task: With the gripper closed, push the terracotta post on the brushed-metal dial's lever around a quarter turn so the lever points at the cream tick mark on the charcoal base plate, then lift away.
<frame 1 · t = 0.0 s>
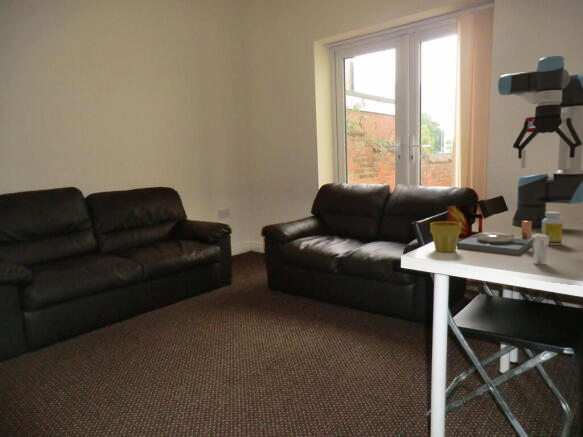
hand: (544, 168, 146), 28 cm above the table, fingers open, 13 cm apart
mug: (464, 236, 174), on the table
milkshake: (540, 264, 129), on the table
base plate: (494, 246, 154), on the table
pill bottle: (550, 244, 156), on the table
plant pot: (445, 251, 150), on the table
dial: (503, 230, 151), point 6 cm above the table, hinge at 90.0°
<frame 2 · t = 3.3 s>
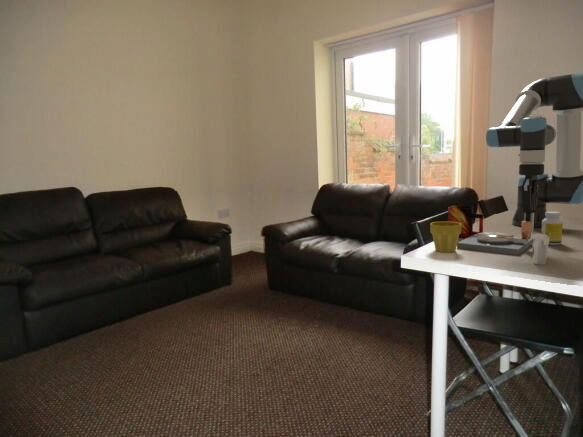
hand: (528, 231, 148), 6 cm above the table, fingers closed
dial: (503, 230, 151), point 6 cm above the table, hinge at 87.8°, touching gripper
everything else where it was.
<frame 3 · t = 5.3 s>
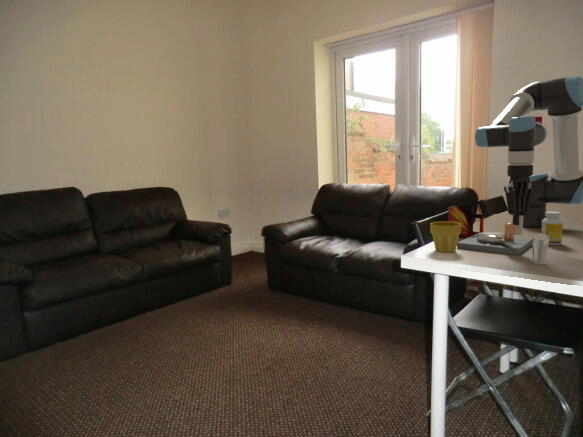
hand: (517, 234, 144), 6 cm above the table, fingers closed
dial: (499, 231, 150), point 6 cm above the table, hinge at 40.5°, touching gripper
everything else where it was.
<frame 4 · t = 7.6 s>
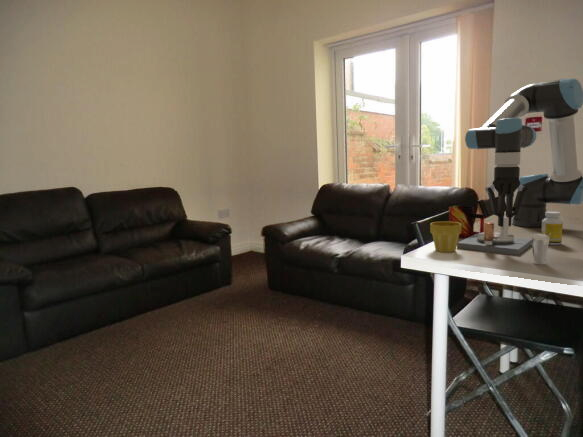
hand: (504, 235, 144), 6 cm above the table, fingers closed
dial: (493, 231, 151), point 6 cm above the table, hinge at 3.7°
everything else where it was.
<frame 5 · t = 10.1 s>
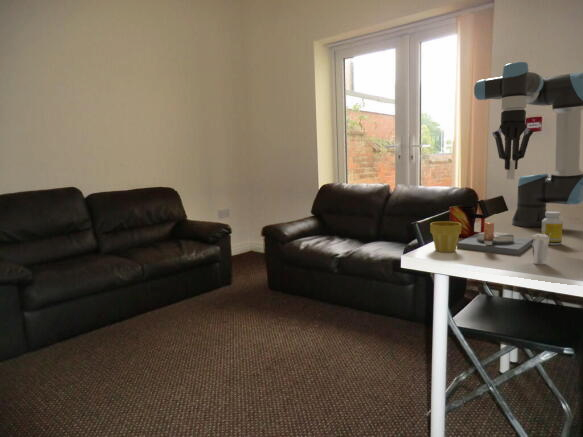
hand: (510, 179, 148), 24 cm above the table, fingers closed
nothing on the table moved.
at the end: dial at +4° (first picture: +90°); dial touching nothing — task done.
